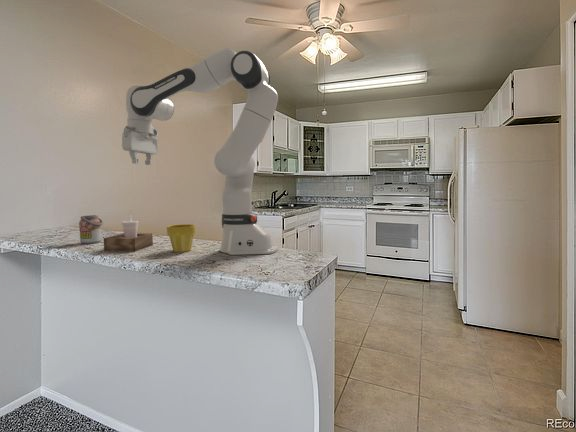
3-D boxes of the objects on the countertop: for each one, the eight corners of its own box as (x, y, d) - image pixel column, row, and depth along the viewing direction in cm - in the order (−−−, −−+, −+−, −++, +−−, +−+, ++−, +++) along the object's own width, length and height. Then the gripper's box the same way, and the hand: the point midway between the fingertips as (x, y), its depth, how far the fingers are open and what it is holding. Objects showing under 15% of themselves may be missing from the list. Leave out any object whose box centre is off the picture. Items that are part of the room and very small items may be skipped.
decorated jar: (108, 241, 150) (106, 215, 148) (95, 244, 141) (93, 217, 140) (89, 240, 151) (87, 215, 149) (75, 244, 142) (73, 217, 141)
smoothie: (133, 246, 130) (131, 211, 129) (119, 246, 132) (116, 211, 130) (143, 243, 137) (141, 210, 135) (129, 243, 138) (127, 210, 137)
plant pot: (179, 247, 134) (178, 223, 133) (201, 248, 131) (200, 224, 130) (162, 252, 124) (160, 226, 123) (185, 253, 121) (184, 227, 120)
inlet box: (152, 244, 139) (152, 233, 139) (135, 251, 126) (134, 238, 126) (124, 244, 140) (123, 233, 140) (104, 250, 128) (103, 238, 127)
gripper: (132, 124, 120) (134, 162, 121) (159, 132, 140) (161, 165, 141) (116, 125, 120) (118, 162, 122) (146, 133, 140) (147, 165, 142)
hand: (141, 164), depth 132 cm, fingers open, 8 cm apart
